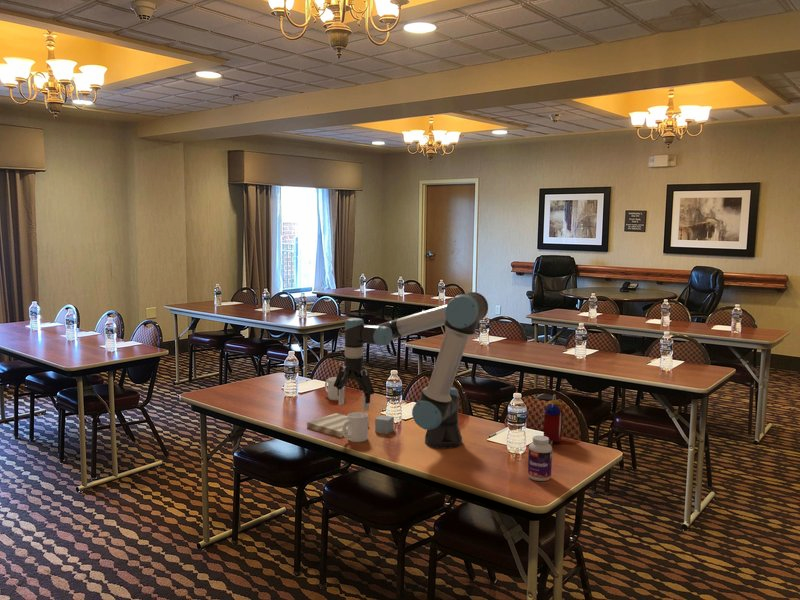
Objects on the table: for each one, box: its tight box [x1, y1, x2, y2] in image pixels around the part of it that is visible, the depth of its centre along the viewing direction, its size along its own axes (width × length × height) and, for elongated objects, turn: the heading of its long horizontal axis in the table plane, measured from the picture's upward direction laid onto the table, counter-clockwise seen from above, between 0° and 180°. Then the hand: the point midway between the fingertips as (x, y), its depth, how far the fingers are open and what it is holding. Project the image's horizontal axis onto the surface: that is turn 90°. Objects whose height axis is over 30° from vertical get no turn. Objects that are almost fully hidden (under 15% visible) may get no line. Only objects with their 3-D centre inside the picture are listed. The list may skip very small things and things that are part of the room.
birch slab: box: [306, 412, 370, 438], centre depth 277 cm, size 20×18×3 cm
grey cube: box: [374, 414, 395, 435], centre depth 272 cm, size 6×6×6 cm
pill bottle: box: [527, 435, 553, 482], centre depth 222 cm, size 8×8×14 cm
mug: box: [342, 411, 369, 443], centre depth 260 cm, size 12×8×10 cm
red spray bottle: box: [538, 394, 564, 447], centre depth 259 cm, size 15×9×20 cm, turn 160°
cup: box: [324, 376, 344, 401], centre depth 326 cm, size 8×12×10 cm
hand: (353, 407), depth 259 cm, fingers open, 13 cm apart
